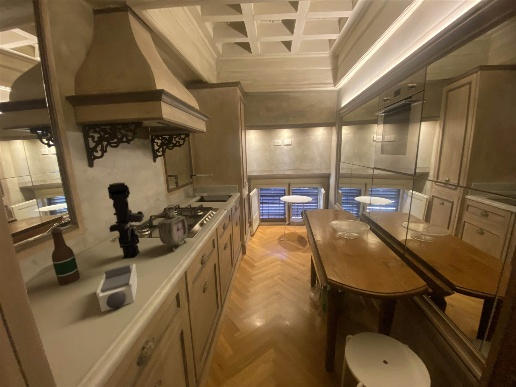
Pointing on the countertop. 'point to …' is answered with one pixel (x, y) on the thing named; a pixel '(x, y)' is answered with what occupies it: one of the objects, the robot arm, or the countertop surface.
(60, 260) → the beer bottle
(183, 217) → the tabletop clock
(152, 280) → the countertop surface
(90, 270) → the countertop surface
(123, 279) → the door
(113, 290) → the white open box
